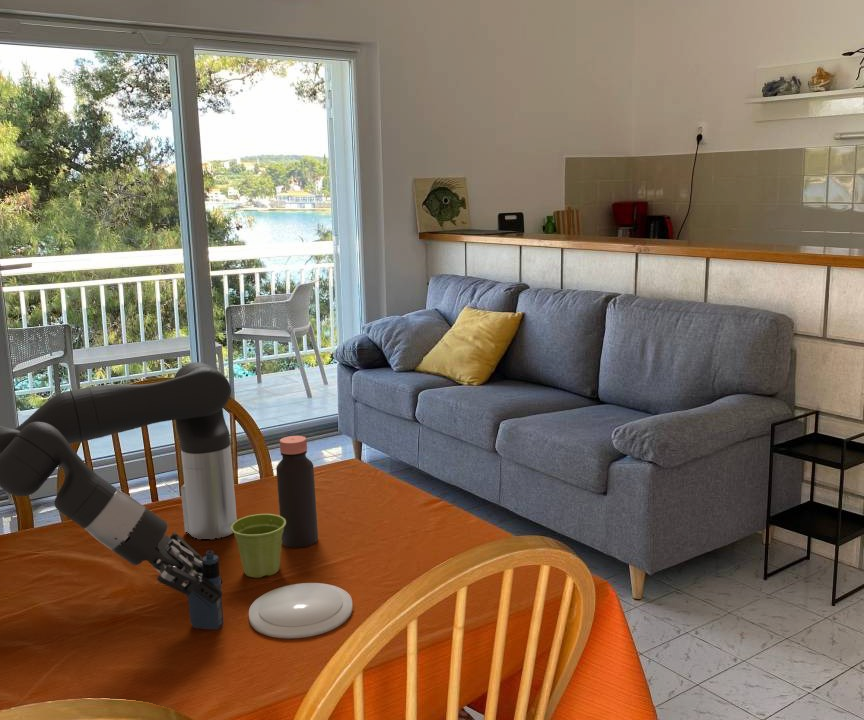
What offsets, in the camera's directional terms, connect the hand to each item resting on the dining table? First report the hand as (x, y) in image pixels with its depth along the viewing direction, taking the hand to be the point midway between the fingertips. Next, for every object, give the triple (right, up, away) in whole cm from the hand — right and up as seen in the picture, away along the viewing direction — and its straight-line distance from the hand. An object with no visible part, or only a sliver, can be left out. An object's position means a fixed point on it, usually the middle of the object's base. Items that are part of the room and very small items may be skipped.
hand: (218, 591), depth 130 cm
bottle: (+8, +1, +31) cm, 32 cm away
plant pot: (+3, -2, +19) cm, 19 cm away
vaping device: (-2, -6, +1) cm, 6 cm away
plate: (+12, -4, +4) cm, 13 cm away
